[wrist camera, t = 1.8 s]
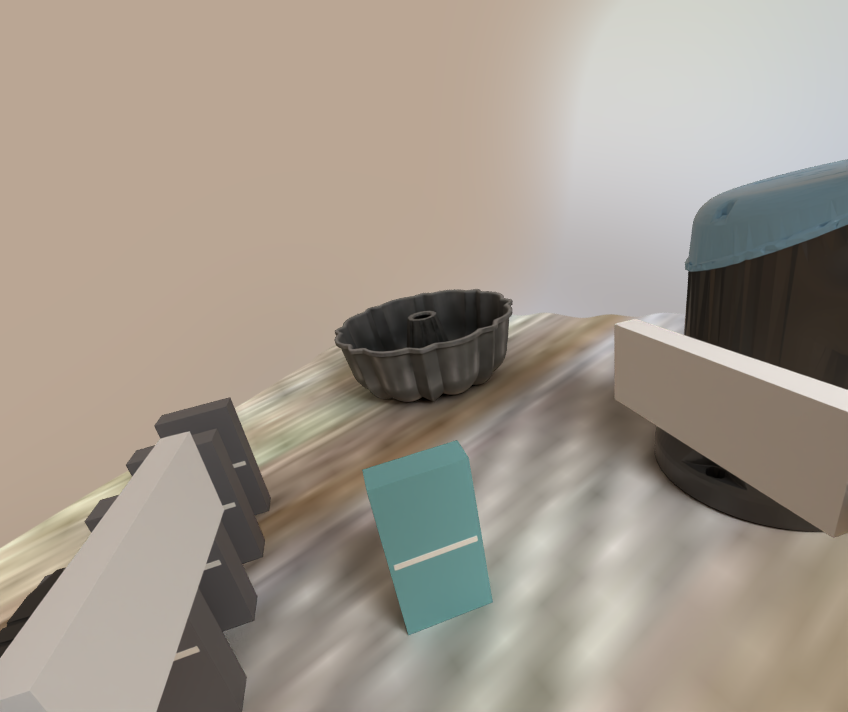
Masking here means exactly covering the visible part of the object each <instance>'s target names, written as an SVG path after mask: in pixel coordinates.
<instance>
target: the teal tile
mask: <svg viewBox="0 0 848 712" xmlns="http://www.w3.org/2000/svg"><path fill="white" fill-rule="evenodd" d="M362 471H363V476H364V480H365V485H366V490H367V494H368V497H369V501H370V504H371V508H372V511H373V514H374V518H375V521H376V525H377V528H378V532H379V535H380V539H381V542H382V546H383V549H384V552H385V556H386V559H387V563H388V566H389V570H390V573H391V577H392V580H393V584H394V587H395V591H396V594H397V597H398V601H399V604H400V608H401V611H402V615H403V618H404V622H405V625H406V629H407V632H408V635H411V634H413V633H416V632H418V631H421V630H423V629H426V628H428V627H431V626H433V625H436V624H438V623H441V622H444V621H446V620H449V619H451V618H454V617H456V616H459V615H461V614H464V613H466V612H469V611H471V610H474V609H477V608H479V607H482V606H484V605H487V604H489V603H492V602H493V601H492V595H491V589H490V583H489V577H488V571H487V565H486V559H485V553H484V547H483V541H482V535H481V529H480V523H479V517H478V511H477V505H476V499H475V493H474V487H473V481H472V475H471V469H470V463H469V458H468V456H467V455H466V453H465V451H464V450H463V448H462V447H461V445H460V444H459V442H458V441H457V440H456V441H453V442H450V443H446V444H443V445H440V446H437V447H434V448H430V449H427V450H424V451H421V452H418V453H414V454H411V455H408V456H405V457H402V458H398V459H395V460H392V461H389V462H386V463H383V464H379V465H376V466H373V467H370V468H367V469H363V470H362Z"/></svg>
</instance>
